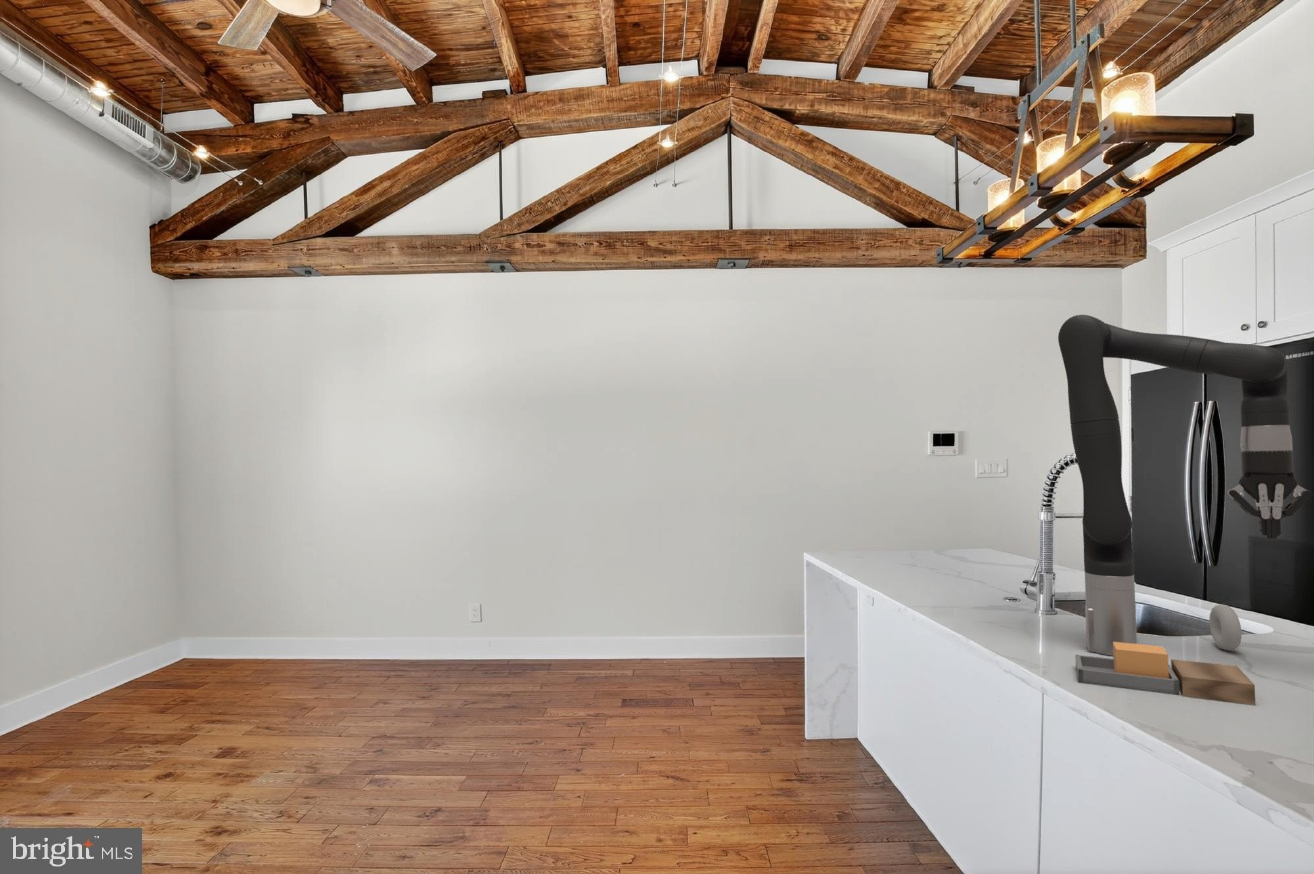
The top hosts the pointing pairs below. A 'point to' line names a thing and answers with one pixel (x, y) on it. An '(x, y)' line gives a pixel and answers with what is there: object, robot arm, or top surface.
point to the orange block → (1140, 660)
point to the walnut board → (1213, 682)
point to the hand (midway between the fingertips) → (1270, 538)
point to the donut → (1225, 627)
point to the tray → (1122, 676)
